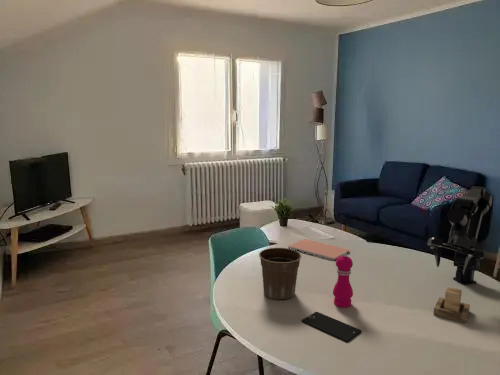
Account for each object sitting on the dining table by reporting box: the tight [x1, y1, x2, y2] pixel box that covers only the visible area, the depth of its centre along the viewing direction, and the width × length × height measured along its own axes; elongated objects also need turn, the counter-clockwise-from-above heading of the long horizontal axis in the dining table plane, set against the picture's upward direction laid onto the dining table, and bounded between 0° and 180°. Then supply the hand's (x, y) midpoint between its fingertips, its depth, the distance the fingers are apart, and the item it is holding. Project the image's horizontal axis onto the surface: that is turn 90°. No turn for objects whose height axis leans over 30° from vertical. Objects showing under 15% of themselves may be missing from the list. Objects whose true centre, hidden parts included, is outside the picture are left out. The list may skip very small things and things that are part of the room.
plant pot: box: [258, 247, 302, 301], centre depth 155 cm, size 16×16×16 cm
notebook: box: [287, 238, 351, 261], centre depth 205 cm, size 27×17×2 cm, turn 49°
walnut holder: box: [433, 296, 471, 324], centre depth 141 cm, size 10×10×2 cm
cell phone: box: [301, 311, 362, 343], centre depth 133 cm, size 9×18×1 cm, turn 45°
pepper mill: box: [332, 252, 354, 308], centre depth 147 cm, size 7×7×20 cm
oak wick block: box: [443, 286, 463, 313], centre depth 141 cm, size 4×4×8 cm
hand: (450, 270), depth 148 cm, fingers open, 9 cm apart
